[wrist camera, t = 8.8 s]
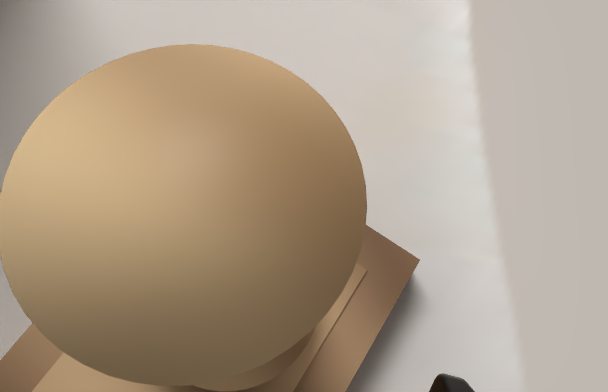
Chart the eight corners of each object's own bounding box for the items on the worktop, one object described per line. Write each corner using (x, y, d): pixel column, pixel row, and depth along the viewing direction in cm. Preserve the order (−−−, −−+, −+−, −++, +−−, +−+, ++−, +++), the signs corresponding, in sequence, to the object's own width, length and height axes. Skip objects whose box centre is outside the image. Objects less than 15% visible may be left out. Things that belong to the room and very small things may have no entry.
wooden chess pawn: (252, 428, 15) (238, 549, 5) (107, 322, 16) (-154, 246, 6) (348, 274, 17) (470, 148, 7) (215, 187, 18) (159, -39, 8)
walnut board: (192, 647, 14) (186, 673, 13) (-55, 446, 15) (-81, 453, 14) (410, 266, 19) (420, 259, 17) (209, 135, 20) (206, 120, 19)
